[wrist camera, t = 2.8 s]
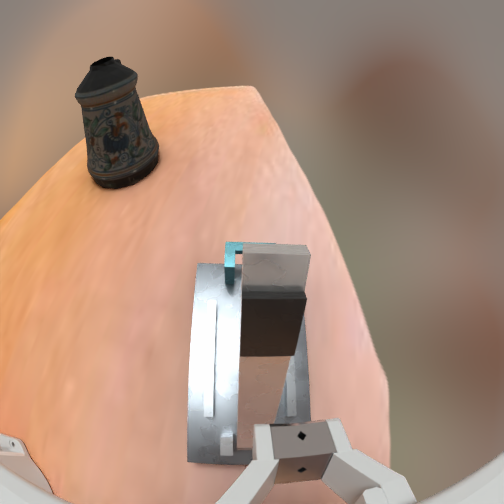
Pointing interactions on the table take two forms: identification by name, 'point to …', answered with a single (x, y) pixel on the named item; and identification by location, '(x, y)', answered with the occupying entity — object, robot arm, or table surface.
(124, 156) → the beer stein
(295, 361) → the grey mechanical fixture
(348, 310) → the table surface
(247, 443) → the silver long bar
